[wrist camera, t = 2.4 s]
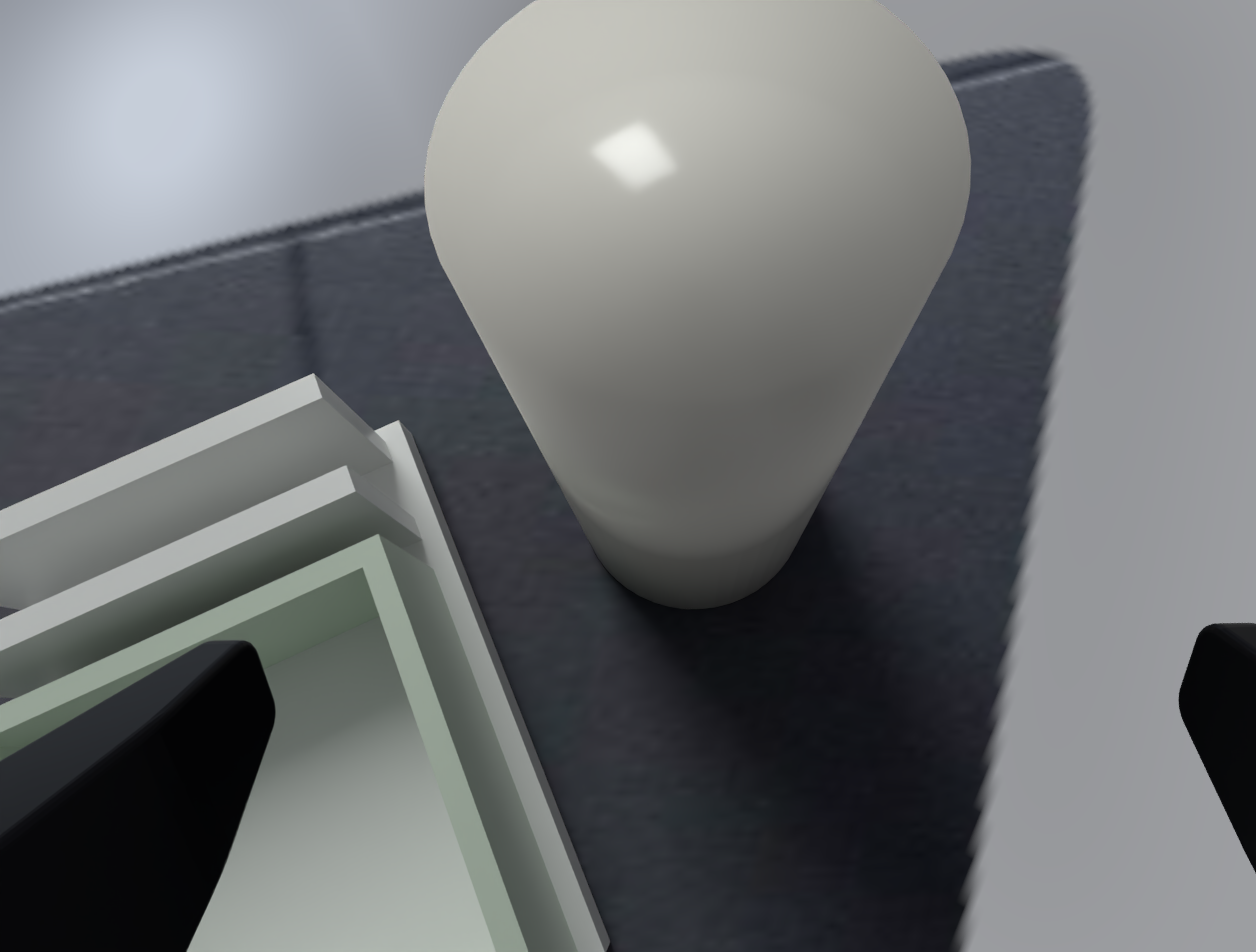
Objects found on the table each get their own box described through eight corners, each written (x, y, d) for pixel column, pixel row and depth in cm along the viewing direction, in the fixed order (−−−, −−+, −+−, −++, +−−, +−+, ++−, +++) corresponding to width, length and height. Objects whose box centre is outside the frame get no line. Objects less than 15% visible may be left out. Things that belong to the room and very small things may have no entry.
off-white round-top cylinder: (724, 656, 19) (775, 518, 7) (537, 526, 20) (315, 225, 8) (847, 469, 20) (1071, 80, 8) (663, 358, 21) (627, -113, 10)
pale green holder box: (610, 941, 17) (577, 1020, 12) (172, 1158, 17) (-37, 1328, 12) (412, 434, 21) (330, 347, 16) (54, 594, 21) (-137, 551, 16)
